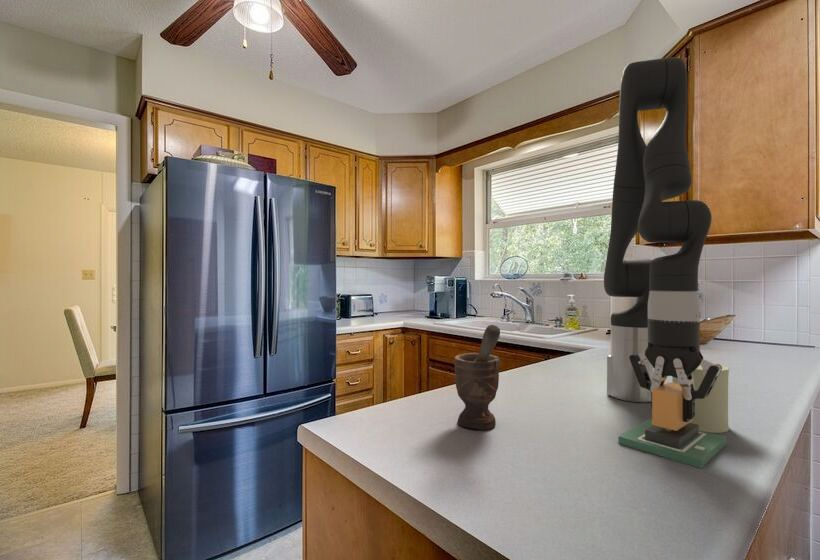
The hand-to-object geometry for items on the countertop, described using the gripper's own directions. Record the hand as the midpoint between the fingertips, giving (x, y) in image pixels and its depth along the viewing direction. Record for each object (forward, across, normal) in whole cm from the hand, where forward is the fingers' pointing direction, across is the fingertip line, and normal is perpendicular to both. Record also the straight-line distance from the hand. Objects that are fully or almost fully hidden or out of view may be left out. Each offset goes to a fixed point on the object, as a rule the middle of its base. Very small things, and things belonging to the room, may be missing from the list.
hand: (672, 417), depth 70 cm
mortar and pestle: (+5, -26, -19) cm, 33 cm away
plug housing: (+1, 0, 0) cm, 1 cm away
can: (+5, 0, +15) cm, 16 cm away
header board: (+5, 0, 0) cm, 5 cm away
